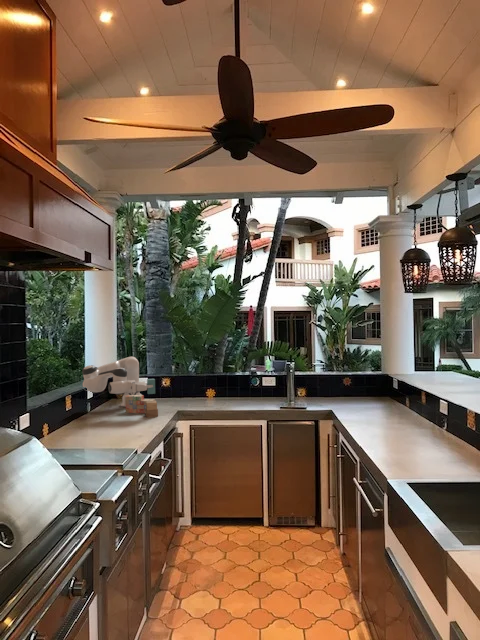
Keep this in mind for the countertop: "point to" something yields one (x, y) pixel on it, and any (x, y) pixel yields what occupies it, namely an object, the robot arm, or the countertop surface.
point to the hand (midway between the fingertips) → (152, 385)
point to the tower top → (151, 405)
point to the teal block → (152, 389)
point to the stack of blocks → (136, 403)
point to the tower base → (151, 413)
